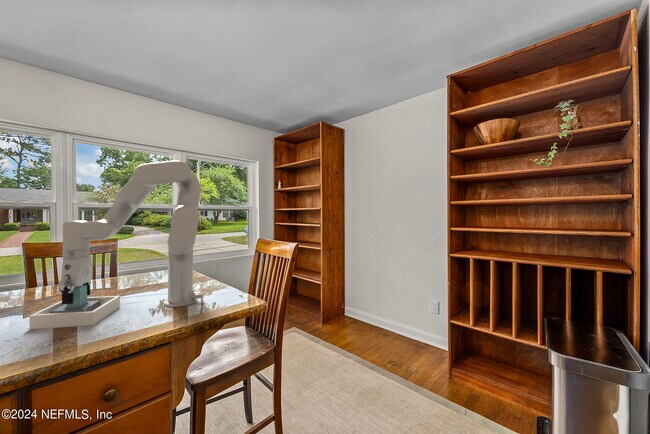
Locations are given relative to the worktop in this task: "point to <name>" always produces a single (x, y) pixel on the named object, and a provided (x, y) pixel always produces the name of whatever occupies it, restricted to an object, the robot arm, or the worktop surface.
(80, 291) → the peg
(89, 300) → the walled box
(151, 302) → the worktop surface
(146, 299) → the worktop surface
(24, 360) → the worktop surface
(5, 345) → the worktop surface
